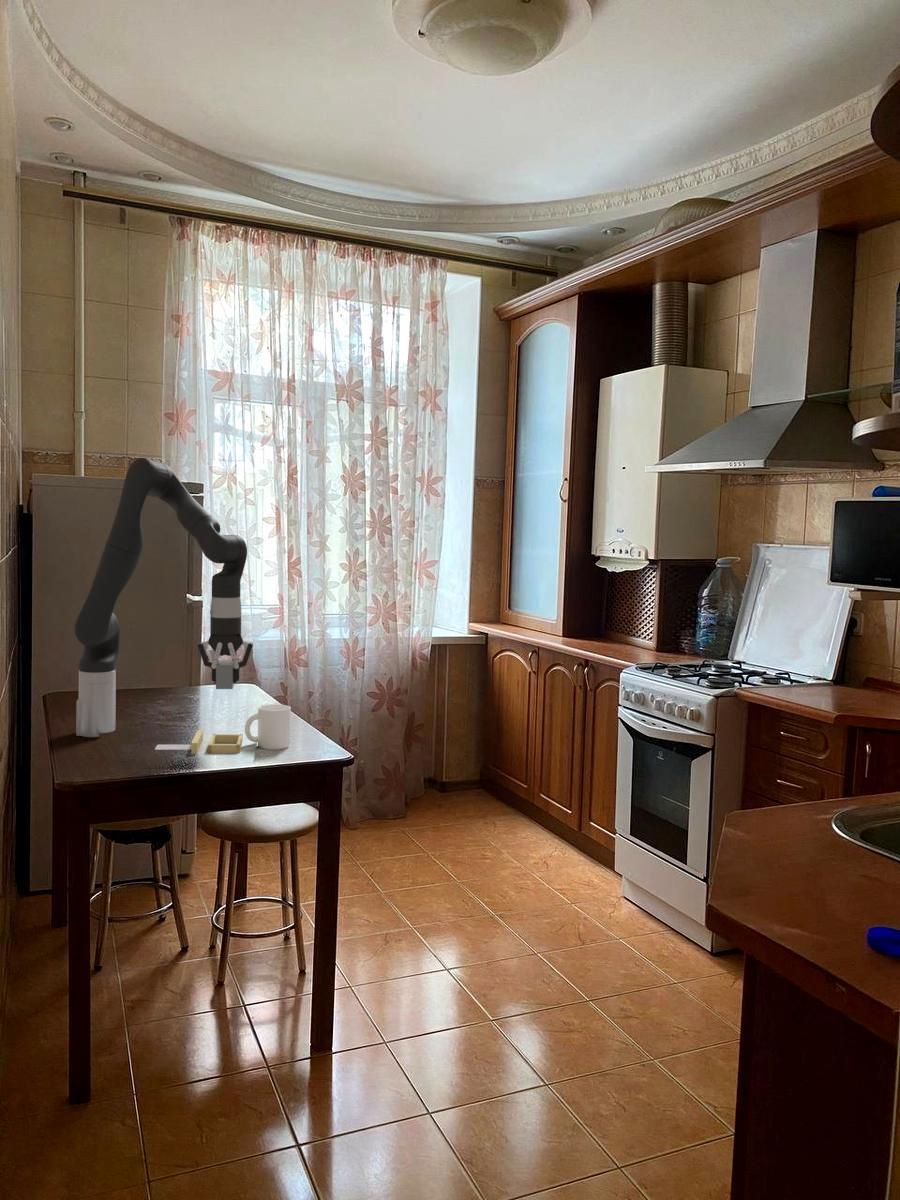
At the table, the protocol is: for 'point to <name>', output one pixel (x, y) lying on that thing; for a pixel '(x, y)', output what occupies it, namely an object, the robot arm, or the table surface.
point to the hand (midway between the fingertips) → (225, 682)
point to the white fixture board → (211, 746)
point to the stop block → (224, 674)
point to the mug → (271, 726)
